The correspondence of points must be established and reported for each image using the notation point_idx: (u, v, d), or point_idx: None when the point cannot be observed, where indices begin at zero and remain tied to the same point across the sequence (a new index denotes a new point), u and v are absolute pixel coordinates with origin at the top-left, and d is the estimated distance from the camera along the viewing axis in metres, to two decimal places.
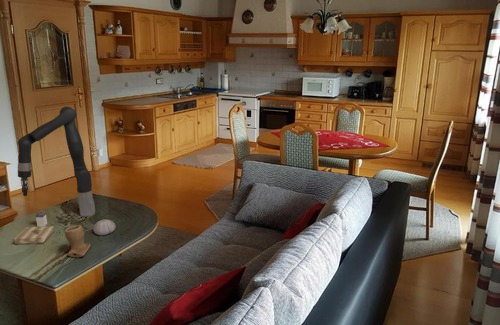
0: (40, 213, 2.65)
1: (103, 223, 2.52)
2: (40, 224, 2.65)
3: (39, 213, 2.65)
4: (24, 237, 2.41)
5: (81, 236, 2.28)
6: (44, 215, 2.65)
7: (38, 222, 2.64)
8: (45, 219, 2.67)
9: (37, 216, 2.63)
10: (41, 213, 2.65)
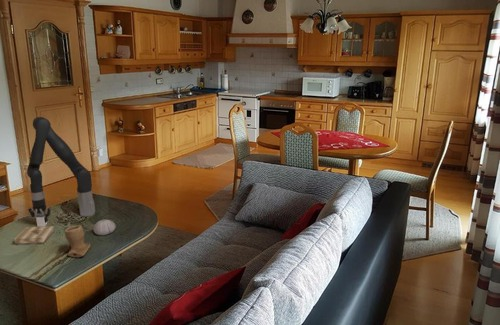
0: (40, 213, 2.65)
1: (103, 223, 2.52)
2: (40, 224, 2.65)
3: (39, 213, 2.65)
4: (24, 237, 2.41)
5: (81, 236, 2.28)
6: None
7: (38, 222, 2.64)
8: None
9: (37, 216, 2.63)
10: (41, 213, 2.65)
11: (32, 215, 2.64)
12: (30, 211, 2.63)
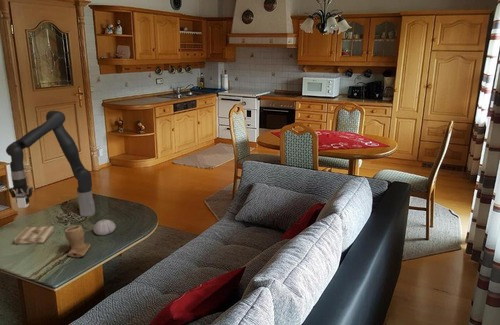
0: (21, 194, 2.50)
1: (103, 223, 2.52)
2: (21, 205, 2.49)
3: (20, 194, 2.50)
4: (24, 237, 2.41)
5: (81, 236, 2.28)
6: None
7: (19, 203, 2.49)
8: None
9: (18, 197, 2.48)
10: (22, 194, 2.50)
11: (12, 196, 2.48)
12: (10, 191, 2.48)
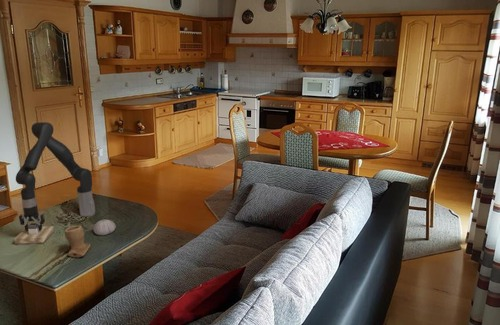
0: (32, 224, 2.46)
1: (103, 223, 2.52)
2: None
3: (32, 224, 2.46)
4: (24, 237, 2.41)
5: (81, 236, 2.28)
6: (37, 226, 2.46)
7: (31, 234, 2.45)
8: (38, 231, 2.48)
9: (29, 228, 2.44)
10: (34, 224, 2.46)
11: (21, 223, 2.44)
12: (20, 218, 2.43)
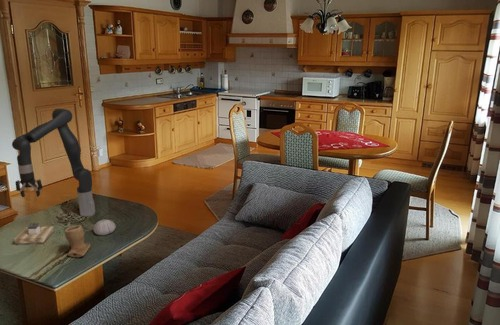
0: (32, 224, 2.46)
1: (103, 223, 2.52)
2: None
3: (32, 224, 2.46)
4: (24, 237, 2.41)
5: (81, 236, 2.28)
6: (37, 226, 2.46)
7: (31, 234, 2.45)
8: (38, 231, 2.48)
9: (29, 228, 2.44)
10: (34, 224, 2.46)
11: (17, 189, 2.45)
12: (17, 184, 2.44)
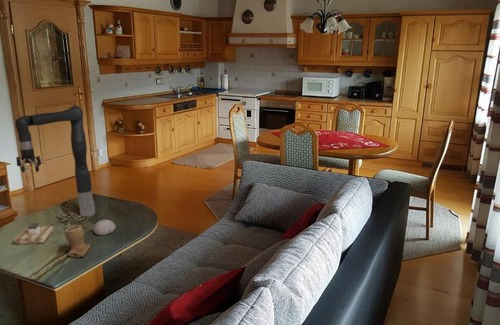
0: (32, 224, 2.46)
1: (103, 223, 2.52)
2: None
3: (32, 224, 2.46)
4: (24, 237, 2.41)
5: (81, 236, 2.28)
6: (37, 226, 2.46)
7: (31, 234, 2.45)
8: (38, 231, 2.48)
9: (29, 228, 2.44)
10: (34, 224, 2.46)
11: (18, 164, 2.62)
12: (17, 160, 2.61)
